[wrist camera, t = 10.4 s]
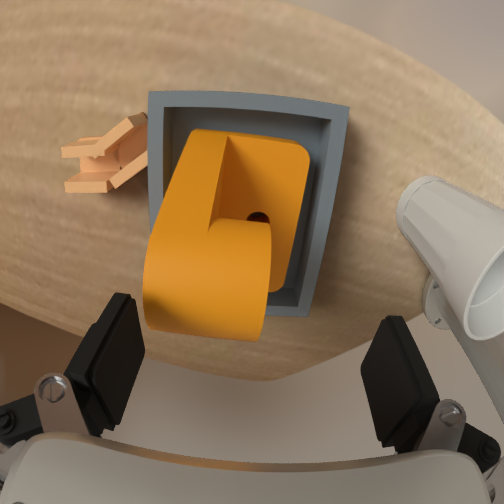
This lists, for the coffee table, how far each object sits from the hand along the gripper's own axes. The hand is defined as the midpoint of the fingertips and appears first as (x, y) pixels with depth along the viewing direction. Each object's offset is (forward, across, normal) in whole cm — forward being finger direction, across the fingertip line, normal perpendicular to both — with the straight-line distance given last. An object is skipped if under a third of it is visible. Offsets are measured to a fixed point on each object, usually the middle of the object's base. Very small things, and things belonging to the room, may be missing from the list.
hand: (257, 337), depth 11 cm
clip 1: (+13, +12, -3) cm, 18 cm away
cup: (+15, -14, -1) cm, 21 cm away
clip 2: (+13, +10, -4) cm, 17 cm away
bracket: (+13, +1, 0) cm, 13 cm away
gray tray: (+14, +2, 0) cm, 14 cm away
